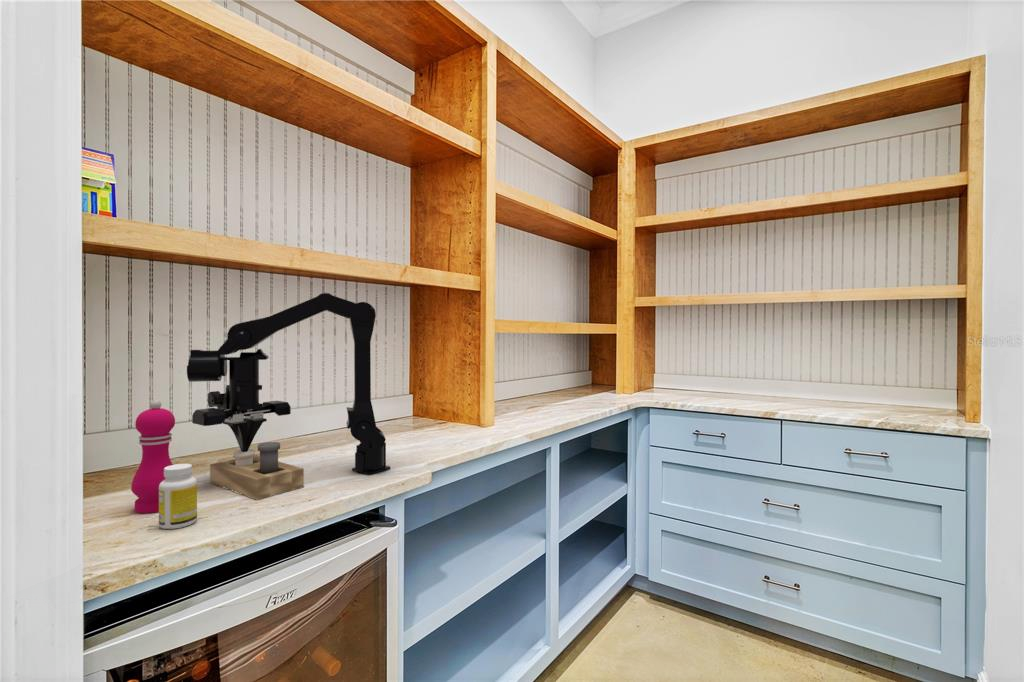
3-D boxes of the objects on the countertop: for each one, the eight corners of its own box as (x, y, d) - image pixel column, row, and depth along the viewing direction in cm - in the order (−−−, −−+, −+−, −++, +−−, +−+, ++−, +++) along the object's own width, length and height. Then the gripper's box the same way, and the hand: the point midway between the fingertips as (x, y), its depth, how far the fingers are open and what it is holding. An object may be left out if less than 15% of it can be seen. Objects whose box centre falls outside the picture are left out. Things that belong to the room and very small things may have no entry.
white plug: (248, 474, 112) (248, 448, 112) (258, 477, 110) (258, 451, 109) (229, 478, 109) (229, 451, 108) (239, 481, 106) (239, 454, 106)
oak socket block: (255, 472, 116) (255, 455, 116) (303, 487, 105) (303, 468, 105) (210, 482, 108) (210, 464, 107) (256, 500, 97) (256, 479, 97)
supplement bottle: (204, 518, 87) (204, 462, 87) (182, 530, 82) (182, 471, 82) (174, 517, 87) (174, 462, 87) (150, 529, 82) (150, 470, 82)
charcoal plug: (273, 468, 106) (273, 441, 106) (284, 471, 104) (284, 443, 104) (253, 472, 103) (253, 444, 103) (264, 476, 100) (264, 447, 100)
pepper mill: (183, 507, 92) (182, 400, 92) (134, 517, 87) (134, 404, 87) (174, 498, 97) (174, 396, 97) (128, 507, 92) (128, 399, 92)
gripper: (265, 375, 121) (265, 439, 121) (180, 381, 106) (180, 454, 106) (292, 378, 115) (292, 445, 115) (205, 385, 99) (205, 462, 100)
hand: (244, 451), depth 109 cm, fingers closed, pressing on white plug
